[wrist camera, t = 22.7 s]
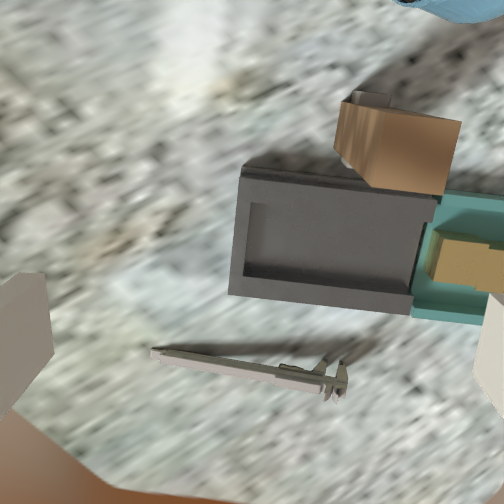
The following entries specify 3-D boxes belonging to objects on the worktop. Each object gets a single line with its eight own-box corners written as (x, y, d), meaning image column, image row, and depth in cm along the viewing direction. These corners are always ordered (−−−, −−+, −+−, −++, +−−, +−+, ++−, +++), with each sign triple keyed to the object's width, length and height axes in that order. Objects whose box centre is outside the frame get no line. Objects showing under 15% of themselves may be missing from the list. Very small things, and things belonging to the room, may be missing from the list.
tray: (433, 187, 43) (443, 193, 41) (547, 200, 43) (563, 207, 41) (405, 305, 47) (412, 317, 45) (509, 317, 47) (521, 330, 45)
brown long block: (343, 89, 41) (390, 92, 25) (389, 95, 41) (466, 101, 25) (331, 159, 43) (367, 204, 27) (375, 164, 43) (438, 213, 27)
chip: (432, 229, 44) (444, 239, 41) (475, 234, 44) (489, 244, 41) (422, 268, 45) (432, 281, 42) (464, 273, 45) (477, 286, 42)
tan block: (474, 238, 44) (488, 249, 41) (517, 243, 44) (533, 254, 41) (463, 277, 45) (476, 290, 42) (504, 282, 45) (520, 295, 42)
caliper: (343, 358, 50) (353, 395, 44) (342, 368, 50) (352, 405, 44) (151, 346, 50) (135, 381, 44) (151, 355, 50) (135, 391, 45)
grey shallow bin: (242, 165, 43) (239, 171, 40) (427, 187, 43) (439, 194, 40) (230, 285, 47) (227, 299, 44) (399, 305, 47) (408, 320, 44)
